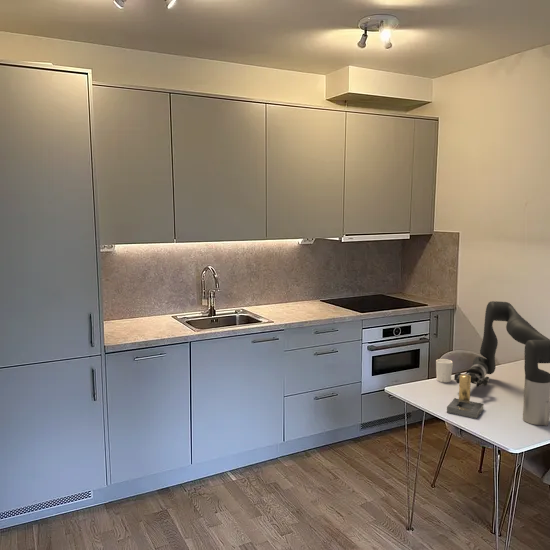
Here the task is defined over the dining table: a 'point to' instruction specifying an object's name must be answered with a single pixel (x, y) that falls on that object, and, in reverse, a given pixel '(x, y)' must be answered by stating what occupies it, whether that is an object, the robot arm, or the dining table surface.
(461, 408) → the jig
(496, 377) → the dining table surface
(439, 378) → the white cup
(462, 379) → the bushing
